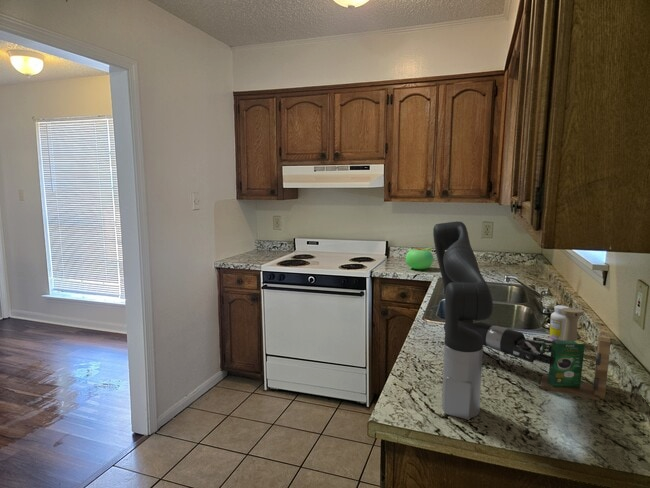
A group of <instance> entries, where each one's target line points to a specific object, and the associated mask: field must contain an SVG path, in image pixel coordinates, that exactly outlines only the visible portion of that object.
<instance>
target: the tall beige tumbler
mask: <svg viewBox="0 0 650 488" xmlns="http://www.w3.org/2000/svg"><path fill="white" fill-rule="evenodd" d="M584 311H585V310H583V309H581V308H576V307H569V308H562V311H561V312H562V313H563V314H564V315H565V316H566V323H565V329H564V336H563V340H571V341H578V321H579V320H578V319H579V318H580V317H582V316H584Z"/></svg>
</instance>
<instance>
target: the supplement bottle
mask: <svg viewBox="0 0 650 488" xmlns="http://www.w3.org/2000/svg"><path fill="white" fill-rule="evenodd" d="M553 308H554V312H552V313H551V314H550V324H549V325H550V326H549V341H552V340H563V336H564V329H565V323H566V316H565V315H564V314H563V313H562V312H561V311H562V308H570V307H569V306H566V305H561V304H560V305H559V304H558V305H555V306H554V307H553Z"/></svg>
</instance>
